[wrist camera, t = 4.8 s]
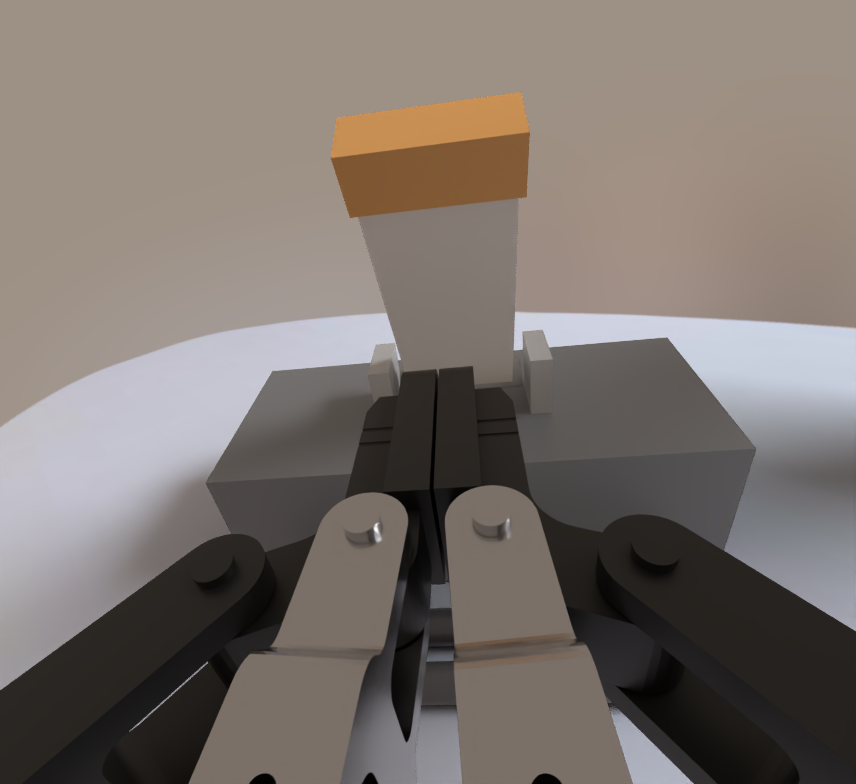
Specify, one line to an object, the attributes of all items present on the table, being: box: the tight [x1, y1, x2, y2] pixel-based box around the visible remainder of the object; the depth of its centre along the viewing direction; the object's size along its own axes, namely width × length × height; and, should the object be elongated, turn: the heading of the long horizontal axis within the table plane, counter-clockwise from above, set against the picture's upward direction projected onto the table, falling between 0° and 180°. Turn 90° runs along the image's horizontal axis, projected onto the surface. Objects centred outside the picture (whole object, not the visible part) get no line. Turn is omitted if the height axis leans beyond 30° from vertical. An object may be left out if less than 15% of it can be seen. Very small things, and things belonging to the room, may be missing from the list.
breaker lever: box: [331, 92, 530, 389], centre depth 19 cm, size 2×6×14 cm, turn 89°
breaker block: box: [206, 330, 756, 705], centre depth 24 cm, size 17×24×11 cm
